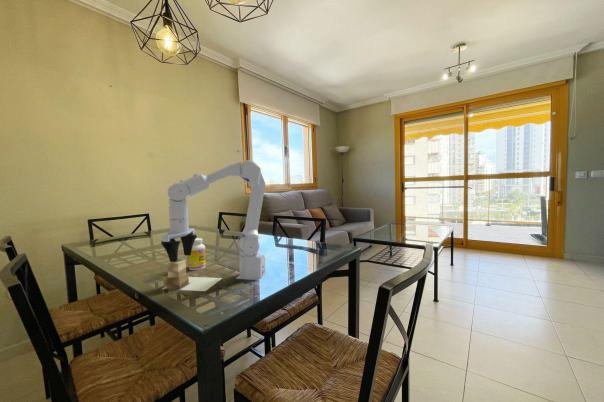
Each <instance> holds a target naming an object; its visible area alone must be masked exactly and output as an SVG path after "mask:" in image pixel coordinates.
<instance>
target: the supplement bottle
mask: <svg viewBox="0 0 604 402" xmlns="http://www.w3.org/2000/svg"><path fill="white" fill-rule="evenodd" d="M206 261H207V260H206V246H205V244H203V238H202V237H196V239H195V241H194V244H193V247H192V252H191V255H190V256H189V255H188V268H189V269H188V270H190V271H198V270H202V269H205V268H206V264H207V263H206Z"/></svg>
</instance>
